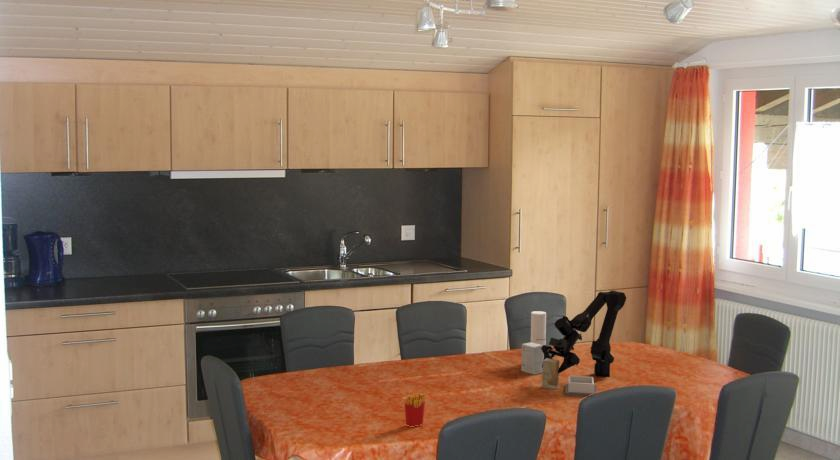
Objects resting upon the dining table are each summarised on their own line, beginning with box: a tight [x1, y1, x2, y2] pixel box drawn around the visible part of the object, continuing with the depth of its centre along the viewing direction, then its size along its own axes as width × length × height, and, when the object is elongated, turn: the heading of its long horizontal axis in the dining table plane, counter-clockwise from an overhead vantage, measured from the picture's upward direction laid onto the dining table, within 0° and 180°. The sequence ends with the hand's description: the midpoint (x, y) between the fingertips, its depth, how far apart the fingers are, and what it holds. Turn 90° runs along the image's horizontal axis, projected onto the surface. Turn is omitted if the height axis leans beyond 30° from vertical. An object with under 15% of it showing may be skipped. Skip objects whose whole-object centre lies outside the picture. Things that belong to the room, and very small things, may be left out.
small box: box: [520, 341, 543, 375], centre depth 380 cm, size 8×6×13 cm
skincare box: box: [541, 358, 560, 390], centre depth 357 cm, size 6×4×12 cm
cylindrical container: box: [530, 310, 547, 359], centre depth 392 cm, size 7×7×25 cm
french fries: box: [404, 392, 426, 426], centre depth 310 cm, size 8×4×12 cm, turn 125°
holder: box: [564, 375, 597, 397], centre depth 352 cm, size 13×13×5 cm
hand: (550, 370), depth 356 cm, fingers open, 9 cm apart
